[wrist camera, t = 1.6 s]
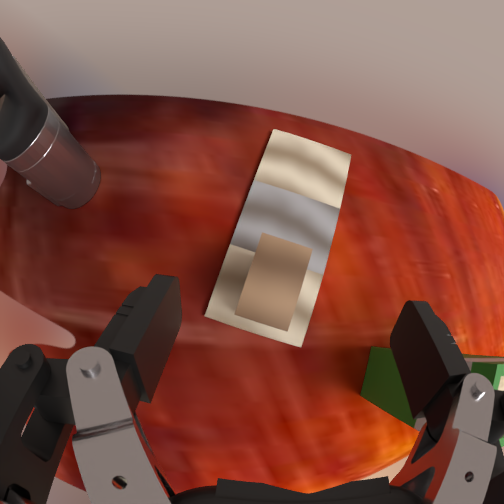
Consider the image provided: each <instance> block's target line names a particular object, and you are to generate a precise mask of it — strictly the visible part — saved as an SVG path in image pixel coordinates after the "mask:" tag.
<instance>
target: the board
mask: <svg viewBox="0 0 504 504" xmlns="http://www.w3.org/2000/svg"><path fill="white" fill-rule="evenodd" d="M350 159H351V155H350V154H348V153H345V152H342V151H340V150H337V149H334V148H331V147H329V146H326V145H323V144H320V143H317V142H314V141H311V140H308V139H305V138H302V137H299V136H296V135H292V134H289V133H286V132H282V131H279V130H276V129H273V132H272V134H271V137H270V140H269V142H268V145H267V147H266V150H265V152H264V155H263V158H262V160H261V163H260V165H259V168H258V171H257V173H256V176H255V178H254V181H253V184H252V186H251V189H250V192H249V194H248V197H247V200H246V202H245V205H244V208H243V210H242V213H241V216H240V218H239V221H238V224H237V227H236V229H235V232H234V235H233V238H232V240H231V243H230V246H229V248H228V251H227V254H226V257H225V259H224V262H223V265H222V268H221V271H220V273H219V276H218V279H217V282H216V285H215V288H214V290H213V293H212V296H211V299H210V302H209V305H208V308H207V310H206V313H205V316H206V317H208V318H211V319H214V320H217V321H220V322H222V323H225V324H228V325H231V326H234V327H237V328H240V329H243V330H246V331H249V332H252V333H255V334H258V335H261V336H265V337H268V338H271V339H274V340H277V341H281V342H284V343H287V344H291V345H294V346H298V347H301V346H302V343H303V340H304V337H305V334H306V331H307V327H308V324H309V321H310V318H311V315H312V311H313V308H314V305H315V302H316V298H317V295H318V291H319V288H320V284H321V281H322V277H323V274H324V270H325V266H326V263H327V259H328V255H329V251H330V247H331V244H332V240H333V236H334V232H335V228H336V223H337V219H338V215H339V211H340V206H341V202H342V197H343V193H344V188H345V184H346V179H347V174H348V169H349V164H350ZM262 232H263V233H266V234H269V235H272V236H275V237H278V238H281V239H284V240H287V241H290V242H293V243H296V244H299V245H302V246H305V247H308V248H311V249H313V250H312V253H311V257H310V260H309V264H308V267H307V271H306V274H305V278H304V281H303V284H302V288H301V291H300V294H299V297H298V301H297V304H296V307H295V310H294V313H293V316H292V319H291V323H290V326H289V329H288V332H287V331H283V330H280V329H277V328H274V327H271V326H267V325H264V324H261V323H258V322H255V321H252V320H249V319H246V318H243V317H240V316H237V315H234V314H235V311H236V308H237V305H238V302H239V299H240V296H241V293H242V290H243V287H244V284H245V281H246V278H247V276H248V273H249V270H250V267H251V264H252V261H253V258H254V255H255V252H256V249H257V246H258V243H259V240H260V237H261V234H262Z"/></svg>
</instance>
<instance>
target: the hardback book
mask: <svg viewBox="0 0 504 504" xmlns="http://www.w3.org/2000/svg"><path fill="white" fill-rule="evenodd" d="M462 355H463V357H464V359H465V361H466V363H467V365H468V367H469V369H470V371H471V373H478V374H481V375H483V376H484V377H486V378H487V379H488V380H489V381H490V383H491V384H492V386H493V388H494V389H495V390H501V391H504V357H498V356H482V355H469V354H462ZM360 396H362V397H363V398H365V399H366V400H368V401H370V402H371V403H373V404H374V405H376V406H378V407H379V408H381V409H383V410H384V411H386V412H387V413H389V414H391V415H392V416H394V417H396V418H397V419H399V420H401V421H403V422H404V423H406V424H408V425H409V426H411V427H413V428H415V429H416V430H418V431H420V430H421V428H422V426H423V425H424V424H425V423H426V422H427V421H426V418H419V419H413V417H412V414H411V410H410V407H409V403H408V400H407V396H406V393H405V390H404V387H403V383H402V380H401V377H400V374H399V371H398V368H397V365H396V362H395V359H394V356H393V353H392V351H391V348H382V347H373V346H371V350H370V355H369V360H368V365H367V369H366V373H365V378H364V382H363V386H362V390H361V394H360ZM499 441H500V445H501V447H503V446H504V435H503V436H502V437H501V438H500V439H499Z"/></svg>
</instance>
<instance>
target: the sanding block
mask: <svg viewBox="0 0 504 504" xmlns="http://www.w3.org/2000/svg"><path fill="white" fill-rule="evenodd" d="M312 250H313V249H311V248H308V247H305V246H302V245H299V244H296V243H293V242H290V241H287V240H284V239H281V238H278V237H275V236H272V235H269V234H266V233H263V232H262V234H261V237H260V240H259V243H258V246H257V249H256V252H255V255H254V258H253V261H252V264H251V267H250V270H249V273H248V276H247V278H246V281H245V284H244V287H243V290H242V293H241V296H240V299H239V302H238V305H237V308H236V311H235V314H234V315H237V316H240V317H243V318H246V319H249V320H252V321H255V322H258V323H261V324H264V325H267V326H271V327H274V328H277V329H280V330H283V331H287V332H288V329H289V326H290V323H291V319H292V316H293V313H294V310H295V307H296V304H297V301H298V297H299V294H300V291H301V288H302V284H303V281H304V278H305V274H306V271H307V267H308V264H309V260H310V257H311V253H312Z"/></svg>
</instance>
